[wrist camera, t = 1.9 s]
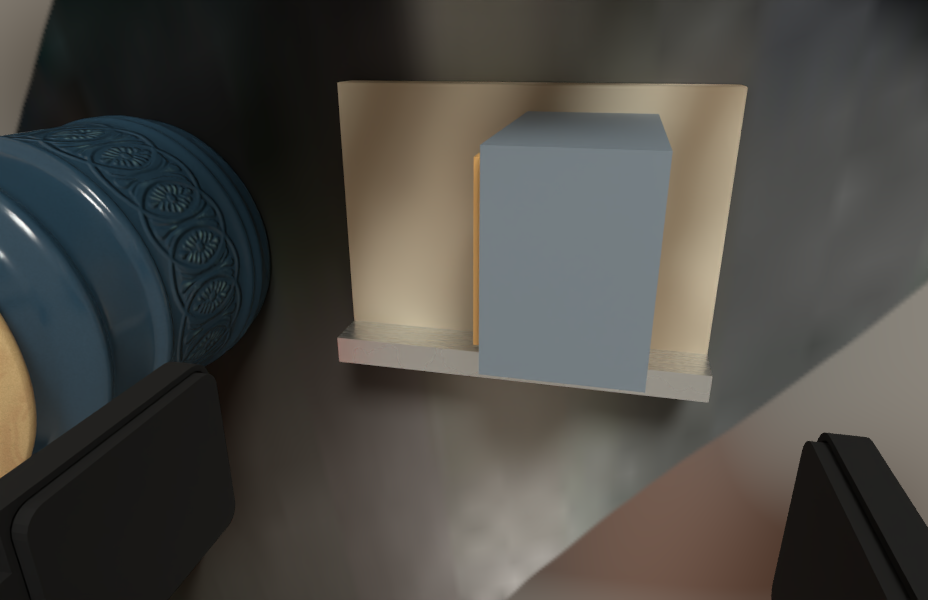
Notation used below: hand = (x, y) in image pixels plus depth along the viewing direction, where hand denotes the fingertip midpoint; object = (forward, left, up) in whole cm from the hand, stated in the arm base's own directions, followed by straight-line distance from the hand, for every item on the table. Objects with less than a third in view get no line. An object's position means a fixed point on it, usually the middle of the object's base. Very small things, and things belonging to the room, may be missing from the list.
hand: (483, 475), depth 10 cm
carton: (0, 0, -18) cm, 18 cm away
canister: (+21, +3, -20) cm, 29 cm away
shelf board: (+2, +1, -20) cm, 20 cm away
